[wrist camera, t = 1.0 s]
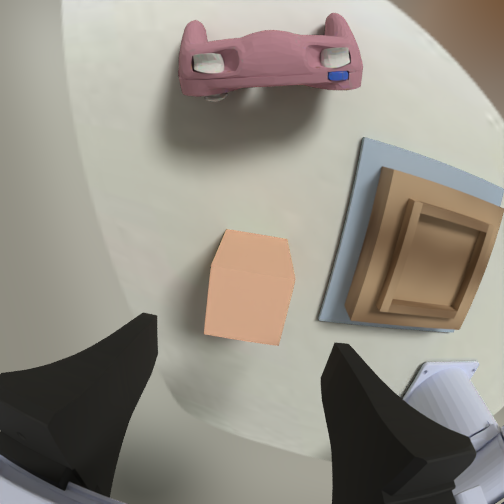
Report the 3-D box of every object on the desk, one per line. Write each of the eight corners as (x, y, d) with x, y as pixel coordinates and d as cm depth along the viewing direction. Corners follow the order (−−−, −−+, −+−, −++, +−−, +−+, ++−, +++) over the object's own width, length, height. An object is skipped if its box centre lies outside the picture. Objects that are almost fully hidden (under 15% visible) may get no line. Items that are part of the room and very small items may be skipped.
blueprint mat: (451, 329, 22) (453, 332, 22) (318, 317, 22) (319, 320, 21) (501, 188, 17) (504, 189, 17) (362, 137, 17) (364, 137, 17)
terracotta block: (275, 292, 21) (278, 345, 16) (219, 283, 21) (204, 334, 16) (287, 239, 20) (295, 279, 14) (226, 228, 20) (210, 265, 14)
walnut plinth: (448, 316, 21) (463, 335, 19) (344, 305, 21) (353, 327, 18) (488, 202, 18) (511, 211, 15) (381, 165, 17) (399, 171, 15)
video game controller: (195, 82, 18) (171, 122, 13) (184, 21, 14) (152, 33, 10) (342, 74, 17) (379, 111, 12) (342, 12, 14) (384, 22, 9)
